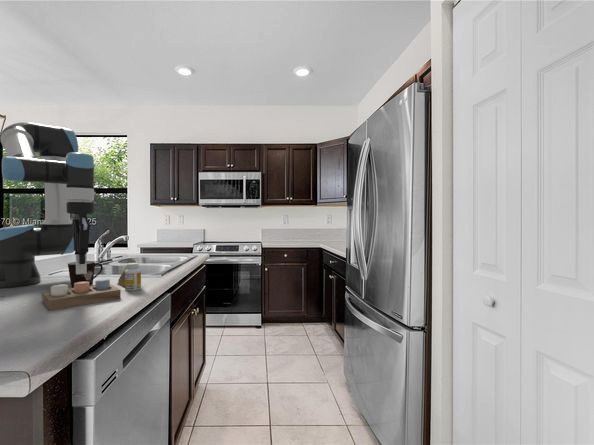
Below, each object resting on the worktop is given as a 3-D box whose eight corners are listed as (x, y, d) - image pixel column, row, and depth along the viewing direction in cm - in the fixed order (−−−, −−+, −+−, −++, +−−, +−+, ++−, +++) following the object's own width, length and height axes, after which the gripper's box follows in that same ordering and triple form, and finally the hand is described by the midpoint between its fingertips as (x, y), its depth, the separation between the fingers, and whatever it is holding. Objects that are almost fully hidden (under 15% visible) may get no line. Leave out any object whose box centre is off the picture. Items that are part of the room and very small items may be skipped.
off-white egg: (50, 301, 102) (49, 285, 102) (66, 299, 105) (66, 283, 105) (52, 304, 99) (52, 287, 99) (69, 301, 102) (68, 285, 102)
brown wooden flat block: (42, 301, 104) (42, 291, 104) (108, 291, 118) (108, 283, 118) (49, 310, 94) (49, 300, 94) (120, 298, 108) (120, 289, 108)
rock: (147, 280, 125) (147, 273, 134) (132, 264, 122) (132, 257, 131) (122, 299, 123) (123, 290, 131) (106, 283, 119) (108, 274, 128)
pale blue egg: (94, 294, 110) (93, 280, 110) (107, 292, 113) (107, 278, 113) (97, 297, 107) (97, 282, 107) (111, 294, 110) (111, 280, 110)
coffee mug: (69, 293, 114) (69, 265, 114) (66, 289, 121) (66, 262, 121) (107, 288, 122) (106, 262, 122) (102, 284, 129) (102, 259, 128)
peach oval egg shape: (72, 298, 106) (72, 282, 106) (87, 295, 109) (87, 281, 109) (75, 300, 103) (75, 284, 103) (91, 298, 106) (90, 283, 106)
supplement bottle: (138, 287, 125) (137, 262, 124) (143, 289, 121) (142, 263, 120) (122, 289, 121) (122, 263, 121) (127, 291, 117) (127, 265, 117)
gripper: (99, 201, 103) (99, 275, 104) (88, 201, 112) (89, 269, 113) (71, 201, 98) (71, 278, 99) (62, 201, 107) (63, 271, 108)
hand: (81, 273), depth 106 cm, fingers closed
